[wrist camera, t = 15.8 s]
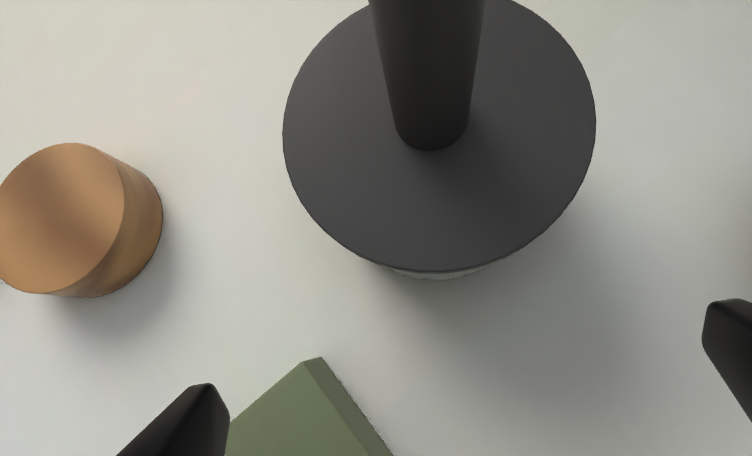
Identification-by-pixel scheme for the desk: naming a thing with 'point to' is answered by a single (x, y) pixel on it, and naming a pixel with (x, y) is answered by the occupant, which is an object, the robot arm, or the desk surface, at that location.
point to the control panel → (304, 419)
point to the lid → (439, 132)
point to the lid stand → (76, 222)
